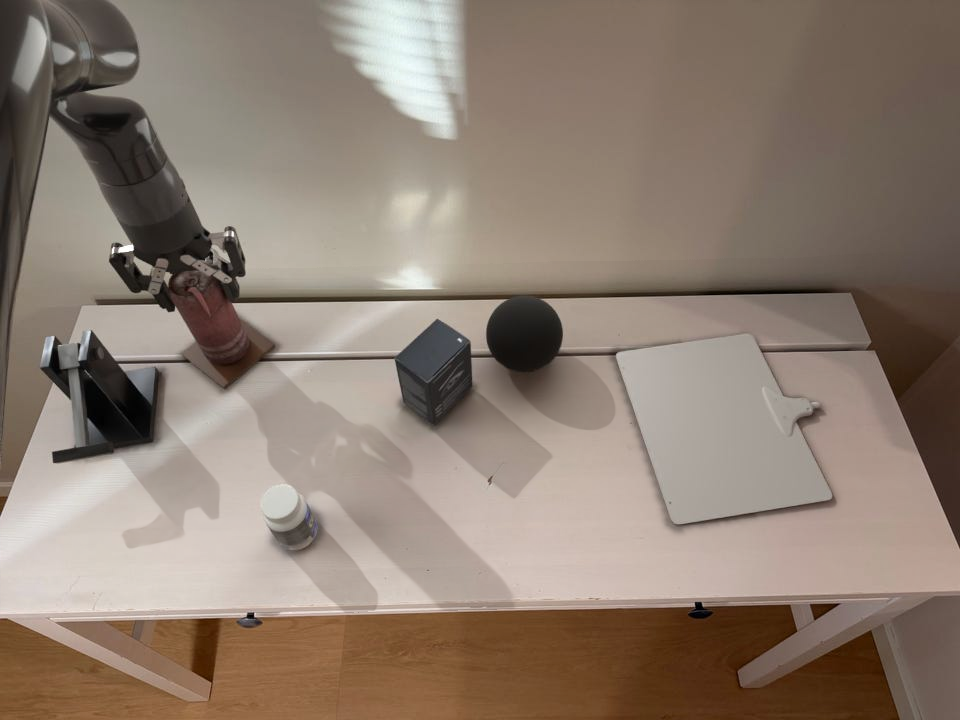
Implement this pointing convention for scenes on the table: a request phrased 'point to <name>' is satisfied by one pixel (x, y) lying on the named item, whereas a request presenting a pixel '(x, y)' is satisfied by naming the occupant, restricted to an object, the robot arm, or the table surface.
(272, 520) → the pill bottle
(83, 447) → the lever
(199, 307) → the can
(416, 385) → the box
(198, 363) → the coaster
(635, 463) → the table surface
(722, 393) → the clipboard
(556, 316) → the decorative ball
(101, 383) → the bracket
